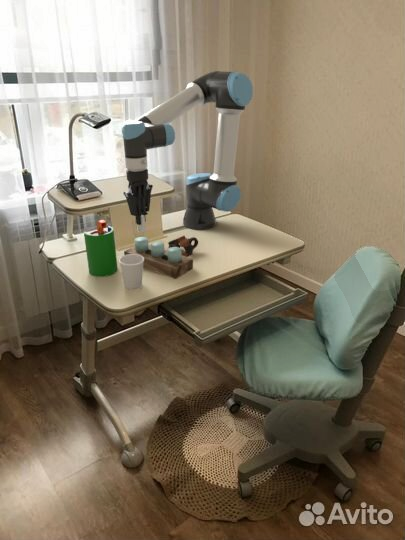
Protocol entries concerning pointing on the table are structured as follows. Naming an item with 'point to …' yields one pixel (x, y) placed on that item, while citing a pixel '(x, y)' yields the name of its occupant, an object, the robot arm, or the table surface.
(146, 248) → the knob
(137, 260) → the dixie cup
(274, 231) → the table surface
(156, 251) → the knob
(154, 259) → the mount
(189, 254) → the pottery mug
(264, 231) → the table surface
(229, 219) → the table surface
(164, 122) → the robot arm
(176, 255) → the knob
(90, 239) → the green pen holder
